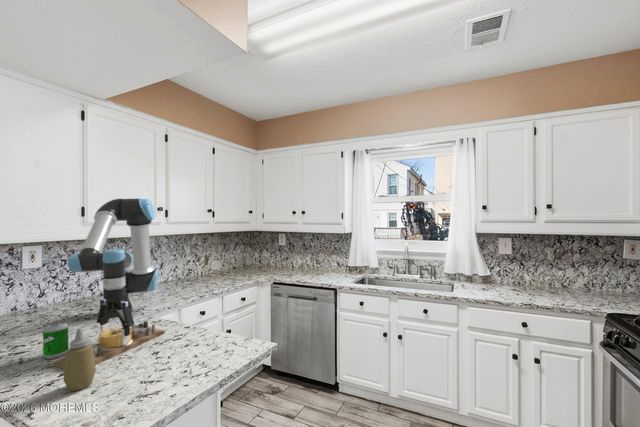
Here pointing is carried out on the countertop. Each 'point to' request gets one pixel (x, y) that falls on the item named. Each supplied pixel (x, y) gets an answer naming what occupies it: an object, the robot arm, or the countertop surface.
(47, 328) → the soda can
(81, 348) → the squeeze bottle
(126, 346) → the gear board
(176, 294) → the countertop surface
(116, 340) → the ochre gear
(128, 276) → the robot arm
